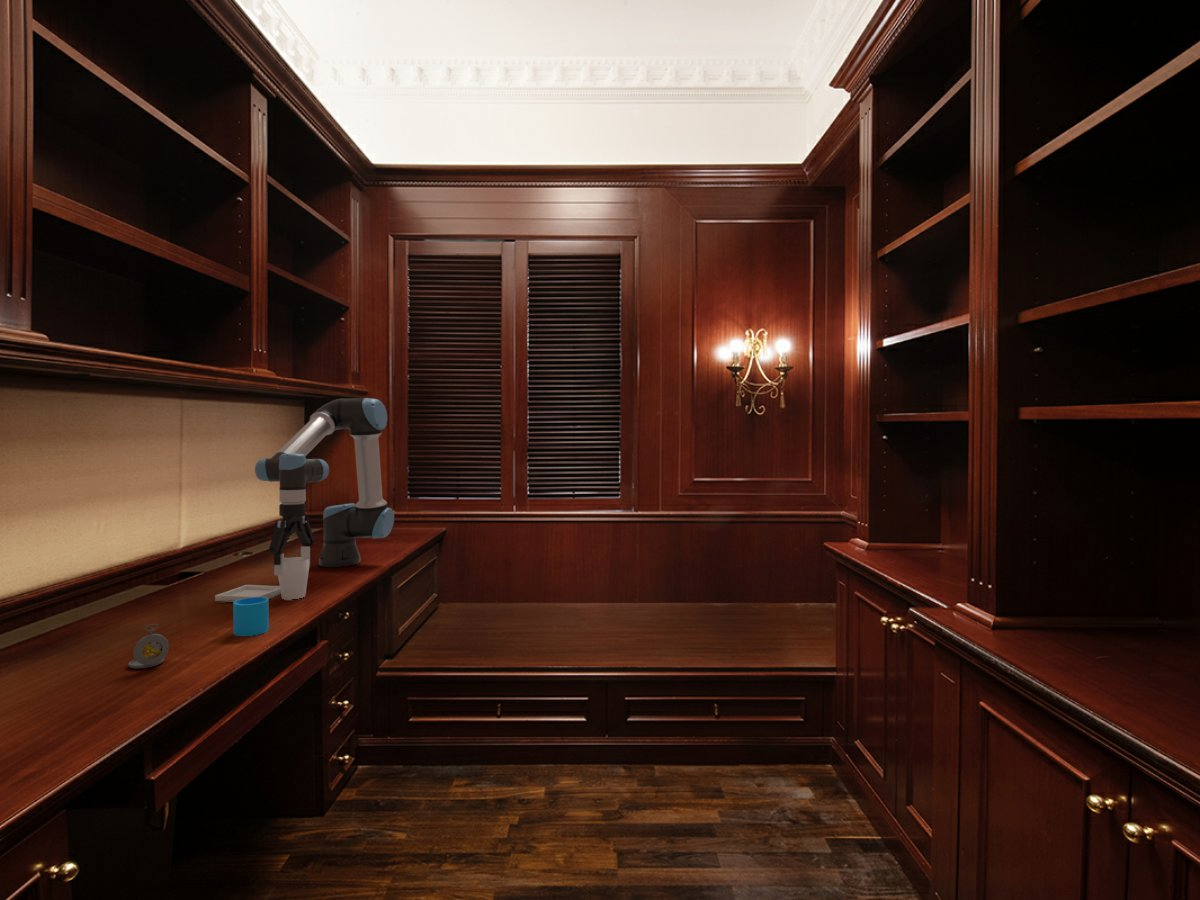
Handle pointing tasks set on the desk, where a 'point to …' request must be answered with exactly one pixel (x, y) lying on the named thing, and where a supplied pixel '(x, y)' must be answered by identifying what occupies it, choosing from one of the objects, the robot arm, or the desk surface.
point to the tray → (249, 593)
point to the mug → (251, 616)
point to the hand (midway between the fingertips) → (292, 570)
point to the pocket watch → (149, 650)
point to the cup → (294, 578)
